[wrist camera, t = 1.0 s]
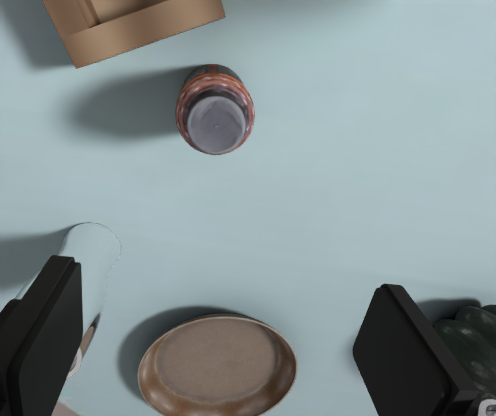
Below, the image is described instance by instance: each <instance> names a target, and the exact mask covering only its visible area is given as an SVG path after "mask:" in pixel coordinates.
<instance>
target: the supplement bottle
mask: <svg viewBox="0 0 496 416" xmlns="http://www.w3.org/2000/svg"><path fill="white" fill-rule="evenodd" d="M254 118H255V113H254V106H253V102H252V99H251V97H250V95H249V93H248V91H247V90H246V88H245V86H244V84H243V83H242V81H241V79H240V78H239V77H238V76H237V74H235V73H234V72H233V71H232V70H230V69H229V68H227V67H225V66H222V65H217V64H208V65H203V66H201V67H199V68H197V69H195V70H194V71H193V72H192V73H191V74H190V75H189V76H188V77H187V79H186V80H185V82H184V84H183V87H182V90H181V93H180V95H179V98H178V101H177V105H176V123H177V127H178V129H179V131H180V133H181V135H182V137H183V138H184V140H185V141H186V142H187V143H188V144H189V145H190V146H191V147H193V148H194V149H196V150H198V151H200V152H203V153H205V154H210V155H221V154H226V153H229V152H231V151H234V150H235V149H237V148H238V147H240V146H241V145H242V144H243V143H244V142H245V141H246V140H247V138H248V137H249V135H250V133H251V131H252V128H253V125H254Z"/></svg>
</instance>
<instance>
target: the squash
mask: <svg viewBox="0 0 496 416" xmlns="http://www.w3.org/2000/svg"><path fill="white" fill-rule="evenodd" d="M434 329H435V331H436V332H437V334H438V335H439V336H440V338H441V339H442V340H443V342H444V343H445V344H446V346H447V347H448V348H449V350H450V351H451V352H452V354H453V355H454V357H455V358H456V359H457V361H458V362H459V363H460V365H461V366H462V367H463V369H464V370H465V371H466V373H467V374H468V375H469V377H470V378H471V380H472V381H473V382H474V384H475V385H476V386H477V388H478V389H479V390H480V392H479V393H478V395H477V396H478V397H479V399H480V400H481V401H484V400H487V399H494V400H496V305H487V306H484V307H481V308H478V307H474V306H465V307H464V308H462V309H460V310H459V311H458V312H457V314H456V316H455V320H451V319H441V320H439V321H437V322H436V323H435V325H434Z"/></svg>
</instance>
